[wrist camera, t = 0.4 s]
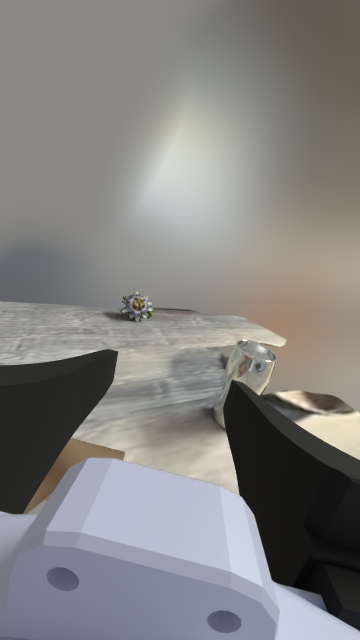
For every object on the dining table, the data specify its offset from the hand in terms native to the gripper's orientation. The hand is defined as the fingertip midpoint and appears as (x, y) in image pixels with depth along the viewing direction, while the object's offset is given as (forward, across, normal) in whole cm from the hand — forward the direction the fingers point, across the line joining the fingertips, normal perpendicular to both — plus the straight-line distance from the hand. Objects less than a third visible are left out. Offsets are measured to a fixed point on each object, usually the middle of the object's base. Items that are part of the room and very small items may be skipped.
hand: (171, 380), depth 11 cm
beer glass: (+21, -13, +17) cm, 29 cm away
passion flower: (+58, +18, +11) cm, 61 cm away
